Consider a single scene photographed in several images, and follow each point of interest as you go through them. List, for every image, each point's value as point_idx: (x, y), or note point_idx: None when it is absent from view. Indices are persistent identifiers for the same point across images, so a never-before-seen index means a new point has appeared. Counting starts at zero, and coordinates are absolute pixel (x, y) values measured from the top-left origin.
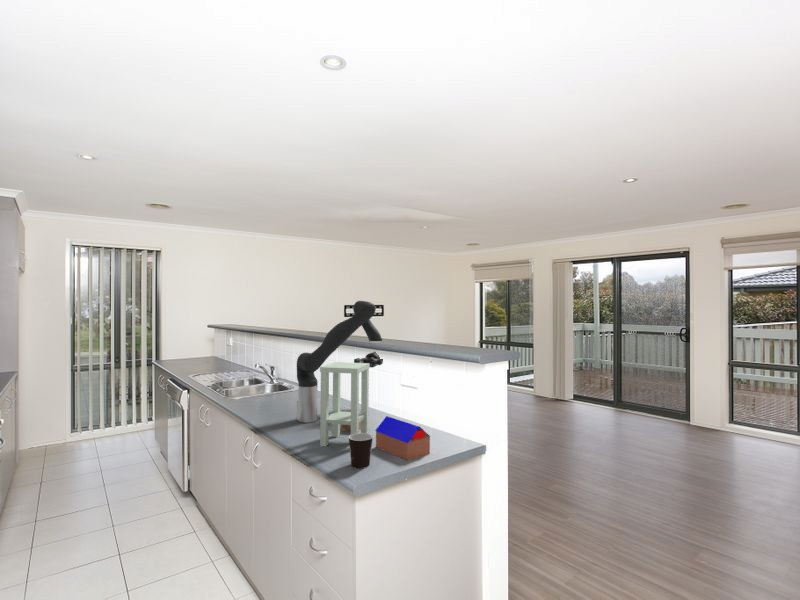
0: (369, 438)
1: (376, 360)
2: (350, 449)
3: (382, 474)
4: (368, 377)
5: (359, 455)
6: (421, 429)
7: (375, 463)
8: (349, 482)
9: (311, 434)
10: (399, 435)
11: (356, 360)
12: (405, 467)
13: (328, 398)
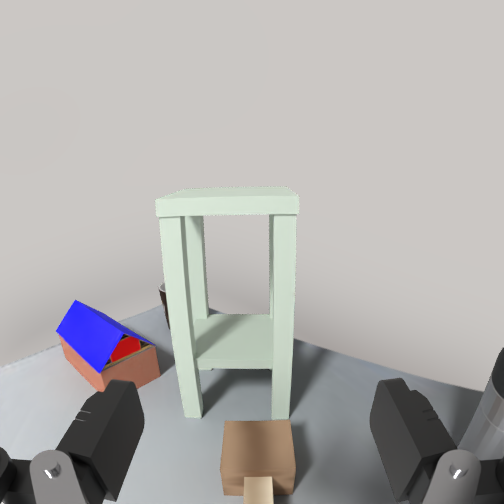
0: (164, 296)
1: (42, 453)
2: None
3: (149, 312)
4: (162, 249)
5: None
6: (71, 310)
7: (159, 330)
8: None
9: (352, 407)
10: (111, 319)
11: (414, 400)
12: None
13: (270, 271)
